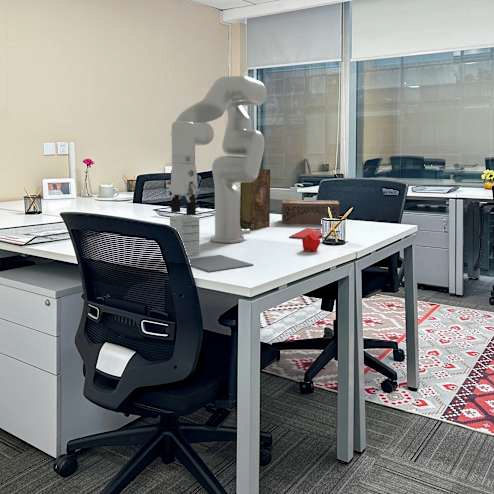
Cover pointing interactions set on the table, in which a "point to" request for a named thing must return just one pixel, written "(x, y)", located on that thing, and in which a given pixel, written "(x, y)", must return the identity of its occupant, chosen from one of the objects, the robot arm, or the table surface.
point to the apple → (310, 242)
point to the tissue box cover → (308, 211)
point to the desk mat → (217, 263)
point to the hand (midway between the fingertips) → (183, 213)
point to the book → (255, 202)
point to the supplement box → (187, 232)
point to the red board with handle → (308, 231)
